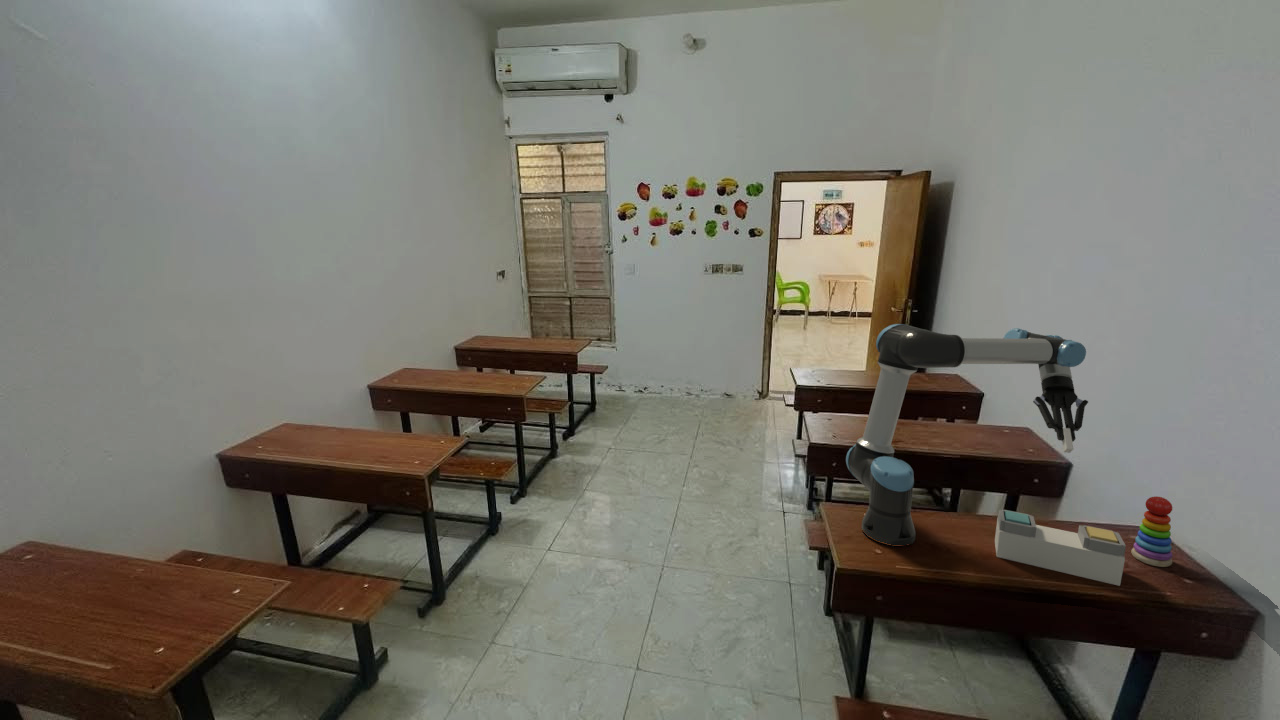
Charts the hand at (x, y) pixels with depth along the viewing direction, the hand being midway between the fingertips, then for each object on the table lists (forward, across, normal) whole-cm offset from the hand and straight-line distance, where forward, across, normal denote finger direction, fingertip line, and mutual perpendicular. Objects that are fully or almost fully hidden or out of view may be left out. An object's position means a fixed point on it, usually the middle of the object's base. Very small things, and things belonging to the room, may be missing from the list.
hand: (1068, 450), depth 141 cm
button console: (+29, +4, -11) cm, 32 cm away
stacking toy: (+22, -21, -19) cm, 36 cm away
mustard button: (+25, -5, -5) cm, 26 cm away
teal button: (+23, +13, -7) cm, 27 cm away
